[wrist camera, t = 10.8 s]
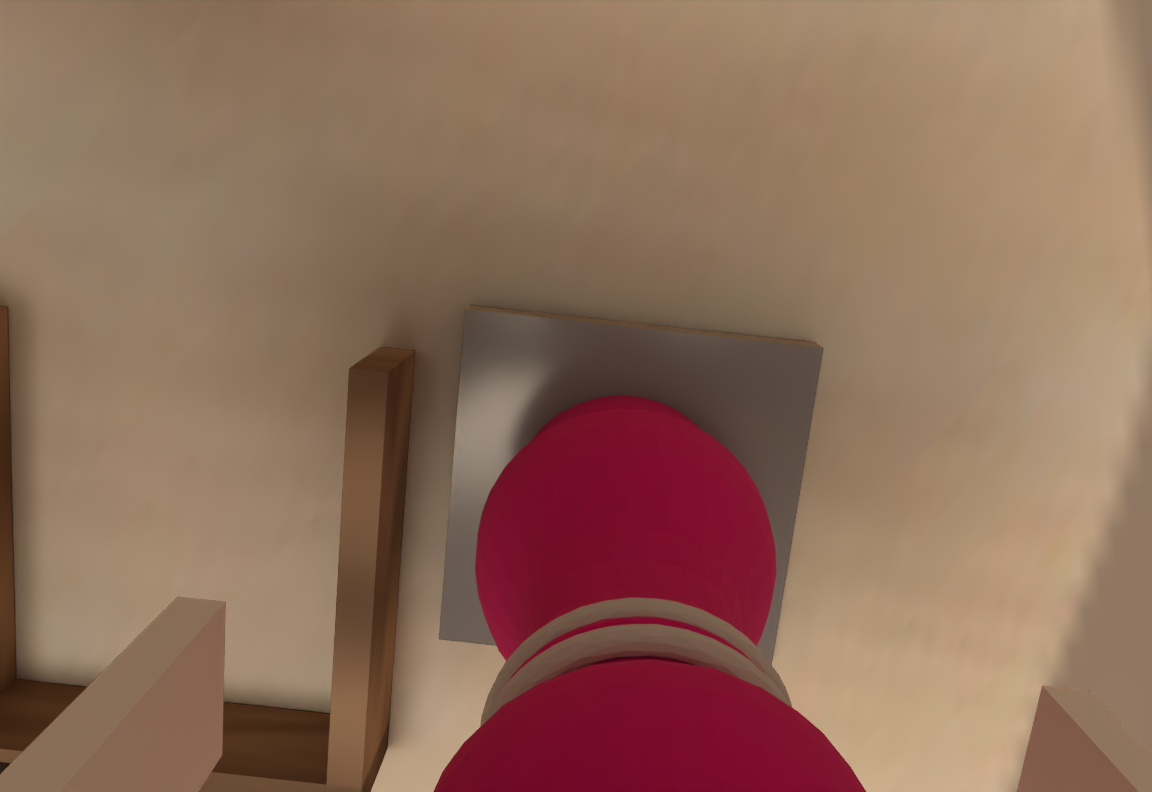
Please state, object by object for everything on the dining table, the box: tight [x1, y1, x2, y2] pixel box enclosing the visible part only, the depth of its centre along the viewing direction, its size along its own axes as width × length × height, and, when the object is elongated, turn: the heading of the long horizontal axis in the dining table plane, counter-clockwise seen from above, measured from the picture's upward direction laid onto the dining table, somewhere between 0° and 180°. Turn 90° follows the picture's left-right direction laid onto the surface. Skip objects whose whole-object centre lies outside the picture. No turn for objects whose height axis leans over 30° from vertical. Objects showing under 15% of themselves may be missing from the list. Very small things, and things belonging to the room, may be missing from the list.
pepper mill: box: [434, 395, 866, 792], centre depth 17 cm, size 7×7×20 cm
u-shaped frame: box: [0, 306, 415, 792], centre depth 27 cm, size 13×13×4 cm
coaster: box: [439, 305, 823, 665], centre depth 27 cm, size 10×10×1 cm
